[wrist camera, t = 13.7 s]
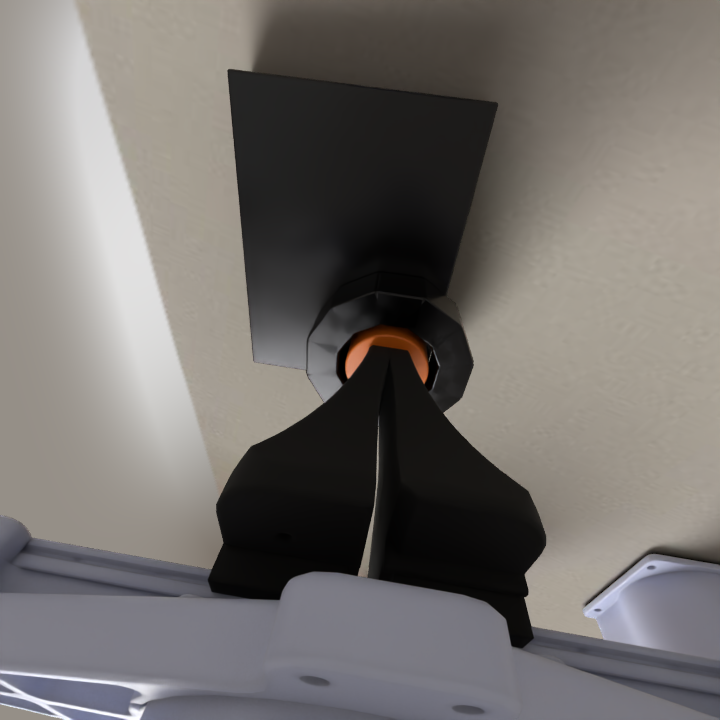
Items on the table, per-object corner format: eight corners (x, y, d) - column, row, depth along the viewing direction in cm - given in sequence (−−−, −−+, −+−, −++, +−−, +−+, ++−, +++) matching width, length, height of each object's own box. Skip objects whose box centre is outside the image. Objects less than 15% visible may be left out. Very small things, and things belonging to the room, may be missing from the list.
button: (418, 380, 14) (419, 408, 13) (348, 369, 15) (341, 396, 13) (434, 318, 13) (437, 342, 11) (355, 306, 13) (348, 329, 11)
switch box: (440, 385, 17) (447, 439, 14) (267, 358, 17) (238, 405, 14) (526, 110, 10) (570, 105, 8) (250, 76, 11) (192, 57, 8)
